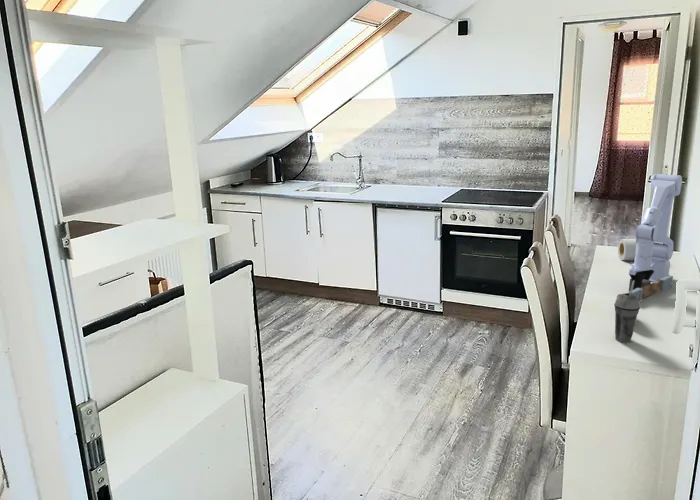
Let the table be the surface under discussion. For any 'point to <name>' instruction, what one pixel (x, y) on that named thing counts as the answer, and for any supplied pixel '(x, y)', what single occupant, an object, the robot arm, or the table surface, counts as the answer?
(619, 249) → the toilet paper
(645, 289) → the door
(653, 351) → the table surface
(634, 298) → the beverage cup
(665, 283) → the wall frame
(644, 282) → the grey rectangular prism
